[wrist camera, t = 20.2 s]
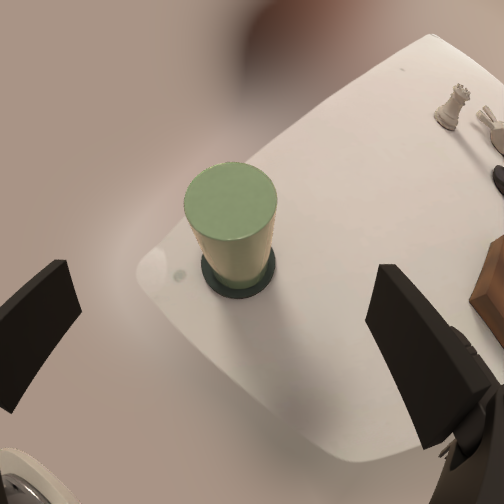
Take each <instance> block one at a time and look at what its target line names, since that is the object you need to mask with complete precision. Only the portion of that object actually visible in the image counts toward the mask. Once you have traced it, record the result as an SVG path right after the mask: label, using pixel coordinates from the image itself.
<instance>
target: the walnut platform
mask: <svg viewBox="0 0 504 504" xmlns="http://www.w3.org/2000/svg"><path fill="white" fill-rule="evenodd" d="M469 302H470V303H471V304H472V305H473V307H474V308H475V309H476V310H477V312H478V313H479V314H480V316H481V317H482V318H483V320H484V321H485V322H486V324H487V325H488V327H489V328H490V329H491V331H492V332H493V334H494V335H495V336H496V338H497V339H498V341H499V342H500V344H501V345H502V347H503V348H504V235H502V236H501V237H499V238H498V239H497V240H495V241H494V242H492V243H491V245H490V248H489V251H488V254H487V257H486V260H485V263H484V266H483V268H482V271H481V274H480V276H479V279H478V281H477V284H476V286H475V288H474V291H473V293H472V295H471V298H470V300H469Z"/></svg>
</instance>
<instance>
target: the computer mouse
mask: <svg viewBox="0 0 504 504" xmlns="http://www.w3.org/2000/svg"><path fill="white" fill-rule="evenodd" d="M493 177H494V181H495V183H496V185H497V187H498V189H499V190H500V191H501V192H502V194H503V195H504V167H502V166H500V165H497V166H496V167H495V168H494V171H493Z"/></svg>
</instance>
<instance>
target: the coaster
mask: <svg viewBox="0 0 504 504" xmlns="http://www.w3.org/2000/svg"><path fill="white" fill-rule="evenodd" d="M201 267H202V272H203V276H204V278H205V280H206V281H207V283H208V284H209V286H210V287H211V288H212V289H213V290H214V291H216V292H217V293H219V294H220V295H222V296H225V297H228V298H234V299H242V298H248V297H251V296H253V295H255V294H257V293H259V292H260V291H262V290H263V289H264V288H265V287H266V286H267V285H268V283H269V282H270V280H271V278H272V276H273V273H274V269H275V255H274V252H273V249H272V247H271V250H270V257H269V263H268V269H267V271H266V273H265V275H264V277H263V278H262V279H261V280H260V281H259V282H258V283H257V284H255V285H254V286H252V287H249V288H246V289H232V288H229V287H226V286H224V285H223V284H221V283H220V282H219V281H218V280H217V279H216V278H215V277H214V275H213V273H212V271H211V269H210V267H209V265H208V263H207V261H206V258H205V256H204V254H203V255H202V260H201Z"/></svg>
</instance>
